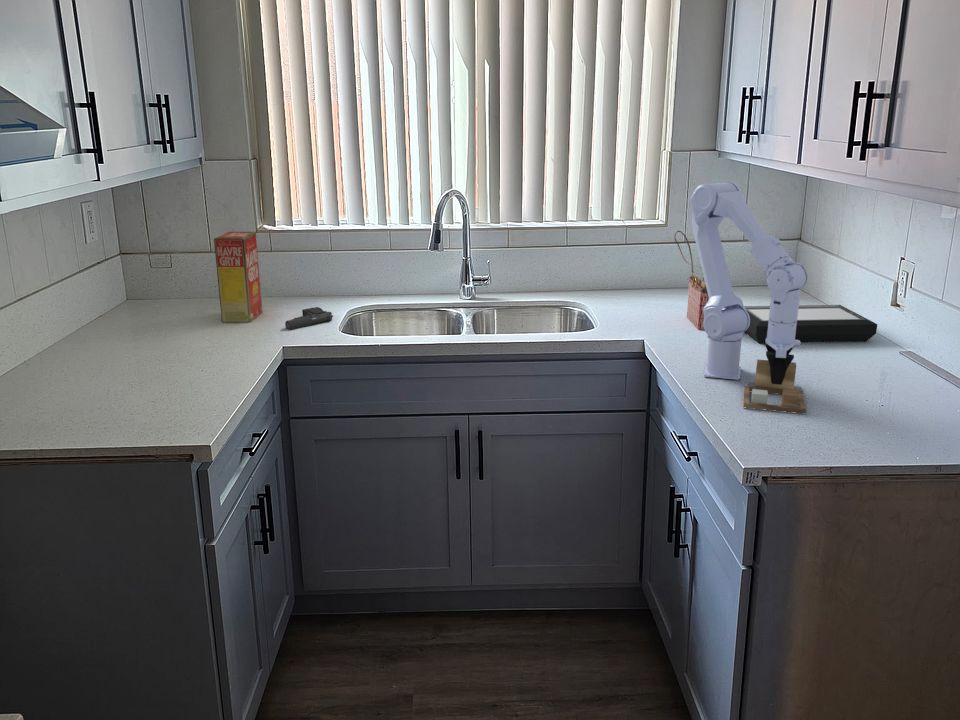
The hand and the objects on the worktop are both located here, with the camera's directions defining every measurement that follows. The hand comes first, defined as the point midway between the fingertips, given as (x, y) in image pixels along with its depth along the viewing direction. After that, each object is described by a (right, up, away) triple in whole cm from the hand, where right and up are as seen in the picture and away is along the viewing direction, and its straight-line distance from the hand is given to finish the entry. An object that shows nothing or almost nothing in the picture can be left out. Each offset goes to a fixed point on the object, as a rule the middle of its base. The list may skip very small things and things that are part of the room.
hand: (776, 380), depth 177 cm
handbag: (-4, +15, +58) cm, 60 cm away
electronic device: (+23, +11, +44) cm, 51 cm away
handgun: (-117, +15, +61) cm, 133 cm away
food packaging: (-137, +17, +67) cm, 153 cm away
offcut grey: (-7, -5, -8) cm, 11 cm away
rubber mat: (0, -2, +1) cm, 2 cm away
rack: (-3, -4, -6) cm, 8 cm away
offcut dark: (-1, -6, -9) cm, 11 cm away
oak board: (0, -2, +1) cm, 2 cm away
